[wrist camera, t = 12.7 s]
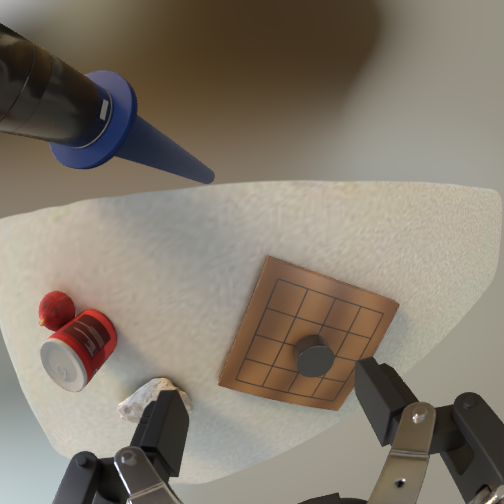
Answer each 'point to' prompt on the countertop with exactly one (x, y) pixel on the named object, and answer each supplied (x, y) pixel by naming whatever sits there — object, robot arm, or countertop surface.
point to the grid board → (304, 335)
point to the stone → (148, 399)
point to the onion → (56, 310)
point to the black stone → (313, 356)
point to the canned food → (78, 350)
